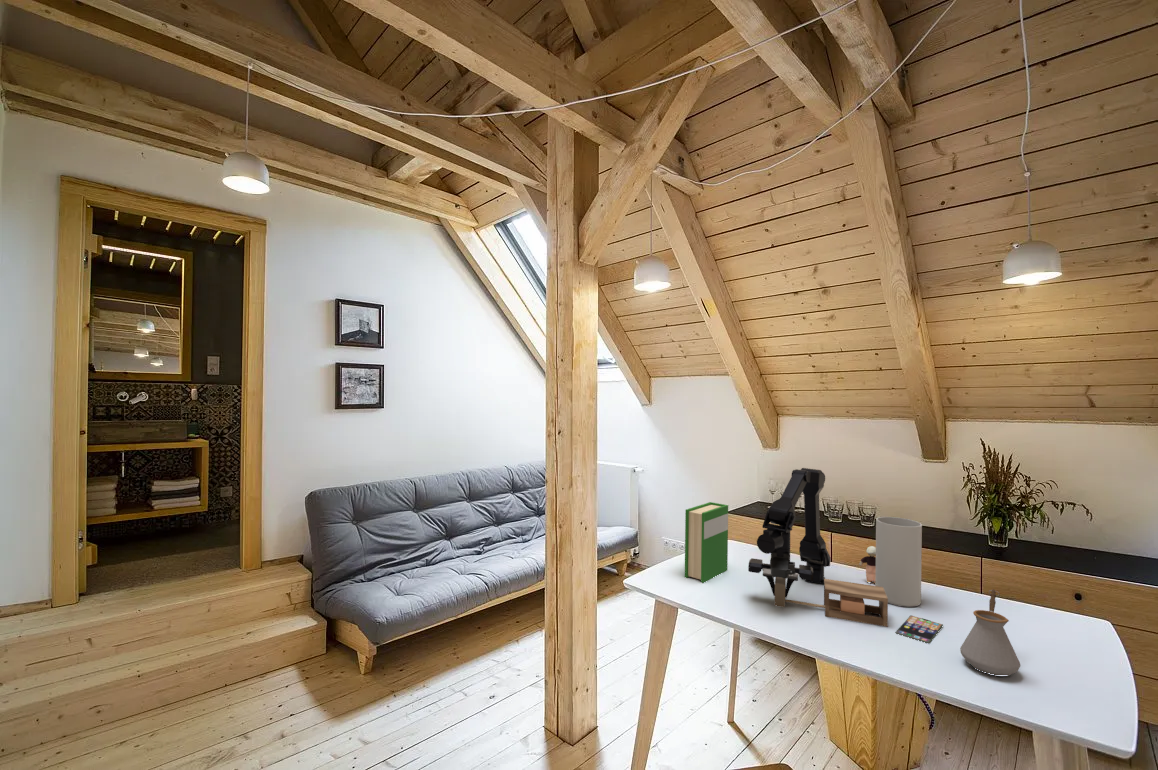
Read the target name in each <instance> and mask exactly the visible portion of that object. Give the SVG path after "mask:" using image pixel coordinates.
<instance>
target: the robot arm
mask: <svg viewBox="0 0 1158 770" xmlns="http://www.w3.org/2000/svg"><path fill="white" fill-rule="evenodd" d="M825 482H826V475H825V473H824V472H823V471H822V470H821V469H815V468H807V467H802V468H800V469H796V468H795V469H793V470H791V477H790V479H789V480H788V483H787V484H786V486H785V488H784V490H783V492H782V494H781V496H780V498H778V499H777V500H775V501H774V500H773V502H772V504H771V505H770V506H769V508H768V509H767V511H766V513H765V517H764V520H763V523H762V529H763V531H762V534H760V535H759V536H758V538H756V546H757V548H758V549H759V551H760V552H762V553H764V554H765V555H767V554H770V560H769V563H764V561H763V559H758V558H750V559H749V561H748V567H747V568H748V572H750V573H755V574H760V573H761V572H762V577H765V578H766V579H767V581H768V583H769V586H770V589H771V592H772V595H773V597H775V578H776V577H781V578H784V579H786V590H785V598H788V595H789V592H790V590H791V587H792V585H793V584H794V582H797V581H799V578H800V579H801V580H805V582H808V583H814V584H821V585H824V579H826V577H825V568H826V567H831V562H832V560H831V555H830V553H829V551H828V549H827V544H826V541H825V540H824V538H823V537H822V535H821V517H820V493H821V491H822V490H823V489H824V487H825ZM802 494H803V501H804V502H803V504H804V505H803V506H804V533H805V535H803V538H802V539H801V540H800V542H799V549H798V550H799V557H800V561H801V562H805V563H806V564H805V565H804V564H799V565H798V566H799V567H796V562H795V561H791V531H793V526H794V523H795V521H796V516H797V515H796V511H795V507H796V505H797V504H798V501H799V499H800V498H801V495H802Z"/></svg>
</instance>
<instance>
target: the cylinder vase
mask: <svg viewBox="0 0 1158 770" xmlns="http://www.w3.org/2000/svg"><path fill="white" fill-rule="evenodd" d="M875 519H876V520H875V548H876V556H875V557H876V579H875V581H874V582H875V584H874V586H879V587H883V588H884V591H885V593H886V595H887V598H888V604H891V605H893V604H894V606H898V607H905V608H907V607H908V608H910V607H911V608H913V607H917V606H920V605H921V602H922V556H923V555H922V549H923V548H922V545H923V544H922V543H923V542H922V541H923V540H922V539H923V537H922V533H923V524H922V523H921V522H919V521H917V520H912V519H908V518H903V517H894V516H879V517H877V518H875Z"/></svg>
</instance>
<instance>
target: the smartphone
mask: <svg viewBox="0 0 1158 770" xmlns="http://www.w3.org/2000/svg"><path fill="white" fill-rule="evenodd" d="M942 626H943V627H944V624H943V623H940V622H936V621H933V620H929V619H926V618H923V617H917V616H915V615H909V617H907V618H906V620H905V621H904V622H903V623H902V624H901V625H900V626H899V627H898V628H897V629H896V631H895V632H894V633H896V635H898V634H899V635H900V636H902V635H903V636H902V637H905V638H908V637H909V638H908V639H911V638H912V639H911V640H914V639H915V640H914V641H918V640H919V641H918V642H921V641H922V643H924V642H925V643H924V644H927V643H930V642H931V643H932V641H933V640H934V639H935V638H936V636H937V635H938V634H937V633H939V632H940V631H941V630H942V629H941V628H943V627H942ZM940 629H941V630H940ZM939 630H940V631H939ZM938 631H939V632H938ZM936 634H937V635H936ZM899 635H898V636H899ZM933 638H934V639H933ZM932 639H933V640H932ZM931 643H930V644H931Z"/></svg>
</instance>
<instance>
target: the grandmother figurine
mask: <svg viewBox="0 0 1158 770" xmlns="http://www.w3.org/2000/svg"><path fill="white" fill-rule="evenodd" d="M865 552H866V553H867V554H868V556H864V557H862V558H860V561H859V563H858V565H859V567H860V566H861V567H862V566H863V564H866V567H865V576H866V578H865V579H866V580H867V582H872V583H873V584H874V583H875V579H876V546H873V545H870V546H868V547H867V549H866V550H865ZM866 580H865V581H866Z"/></svg>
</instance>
